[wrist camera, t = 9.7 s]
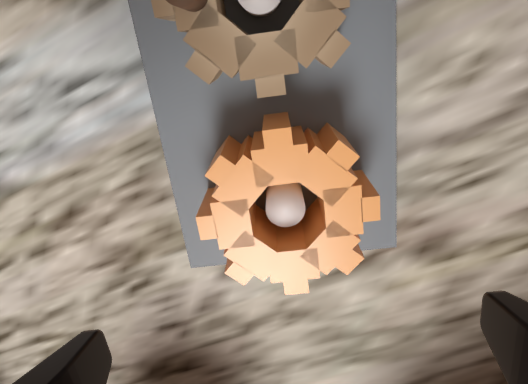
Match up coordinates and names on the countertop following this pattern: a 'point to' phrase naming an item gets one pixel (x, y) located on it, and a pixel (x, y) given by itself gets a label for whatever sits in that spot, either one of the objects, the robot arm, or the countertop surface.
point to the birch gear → (257, 41)
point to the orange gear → (316, 216)
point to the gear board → (275, 111)
